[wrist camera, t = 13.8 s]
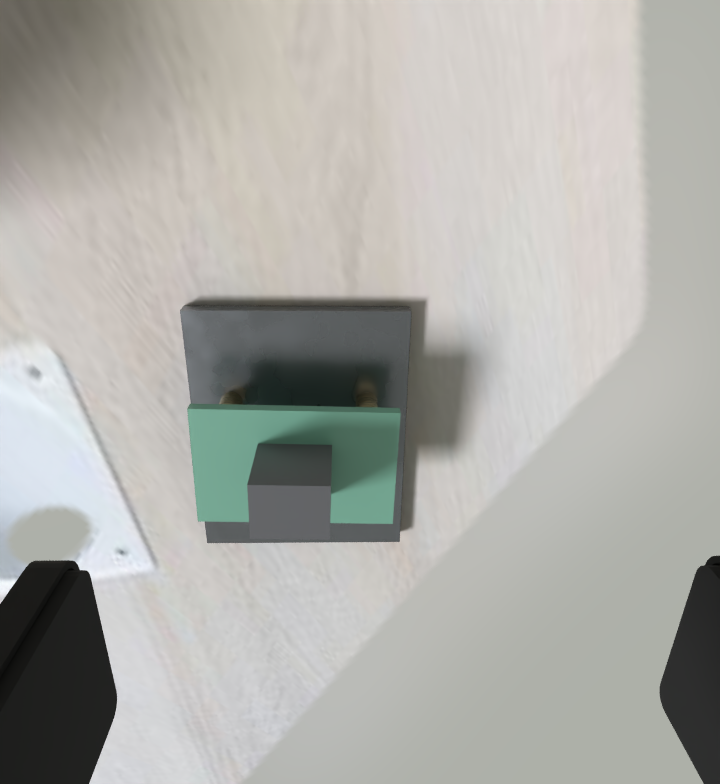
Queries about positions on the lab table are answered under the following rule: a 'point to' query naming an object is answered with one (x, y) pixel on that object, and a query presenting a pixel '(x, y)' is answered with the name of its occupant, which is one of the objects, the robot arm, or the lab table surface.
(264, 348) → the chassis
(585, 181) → the lab table surface
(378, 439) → the circuit board
